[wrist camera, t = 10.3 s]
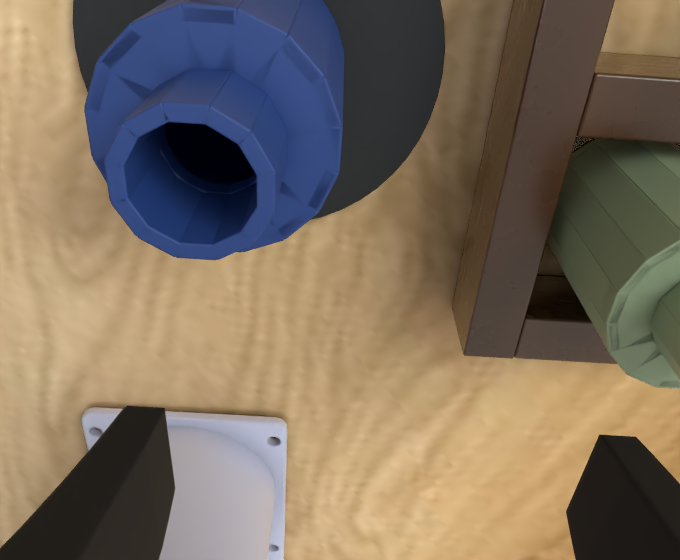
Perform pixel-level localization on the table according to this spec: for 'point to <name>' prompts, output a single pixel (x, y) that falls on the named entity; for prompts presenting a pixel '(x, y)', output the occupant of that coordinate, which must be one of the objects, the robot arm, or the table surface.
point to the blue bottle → (219, 122)
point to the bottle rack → (548, 173)
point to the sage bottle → (625, 250)
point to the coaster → (359, 78)
